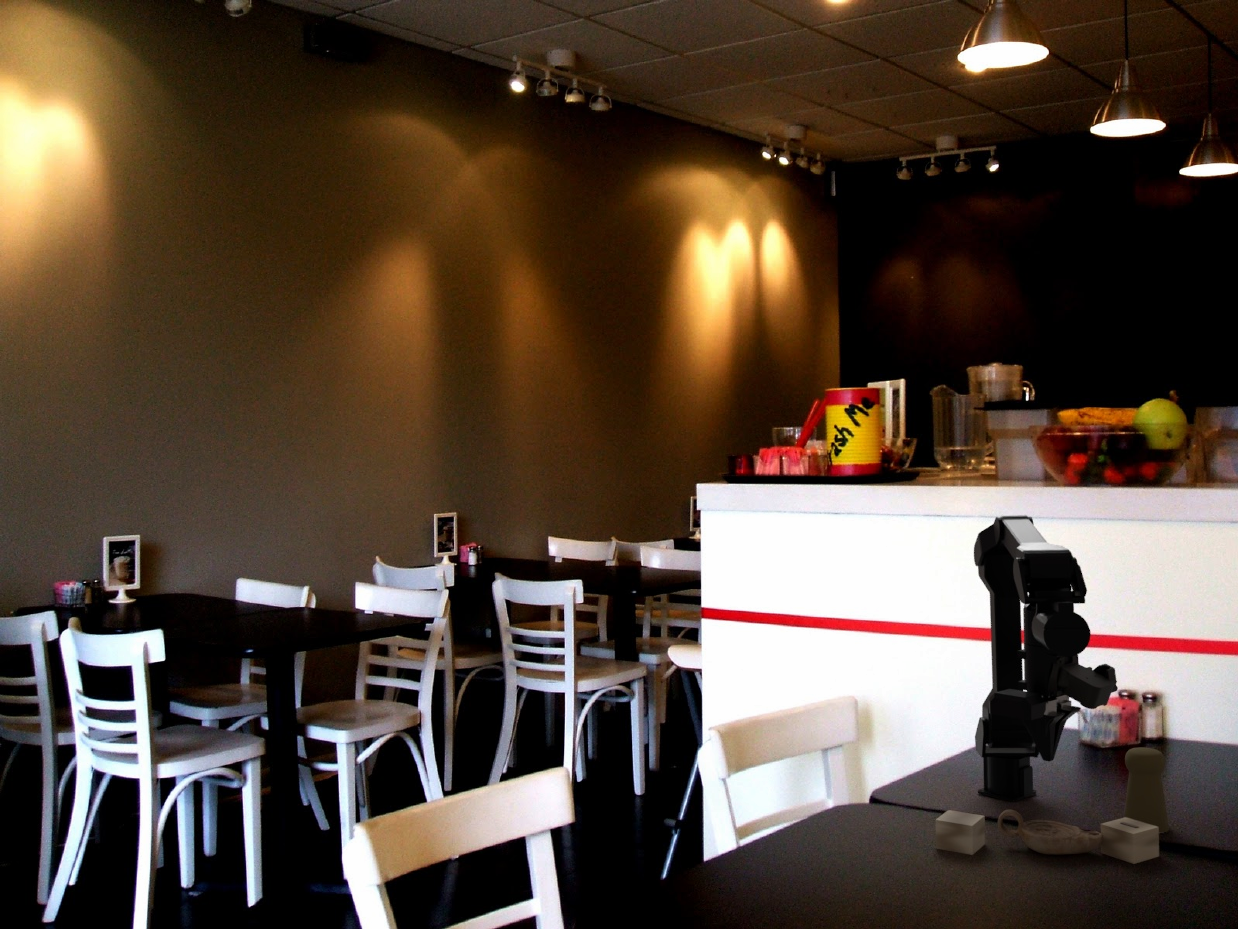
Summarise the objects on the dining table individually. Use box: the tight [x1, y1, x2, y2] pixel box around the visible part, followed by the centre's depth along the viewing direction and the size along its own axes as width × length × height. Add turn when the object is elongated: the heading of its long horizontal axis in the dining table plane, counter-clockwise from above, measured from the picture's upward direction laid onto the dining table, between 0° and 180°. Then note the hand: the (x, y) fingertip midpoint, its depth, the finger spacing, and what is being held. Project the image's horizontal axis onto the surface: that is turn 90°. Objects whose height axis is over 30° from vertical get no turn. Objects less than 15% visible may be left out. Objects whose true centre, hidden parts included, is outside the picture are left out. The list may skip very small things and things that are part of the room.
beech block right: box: [1100, 817, 1160, 865], centre depth 162 cm, size 5×5×4 cm
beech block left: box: [935, 809, 986, 856], centre depth 167 cm, size 5×5×4 cm
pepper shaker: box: [1123, 746, 1170, 833], centre depth 173 cm, size 6×6×11 cm
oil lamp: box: [997, 809, 1102, 856], centre depth 164 cm, size 13×8×5 cm, turn 65°
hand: (1048, 760), depth 164 cm, fingers closed
